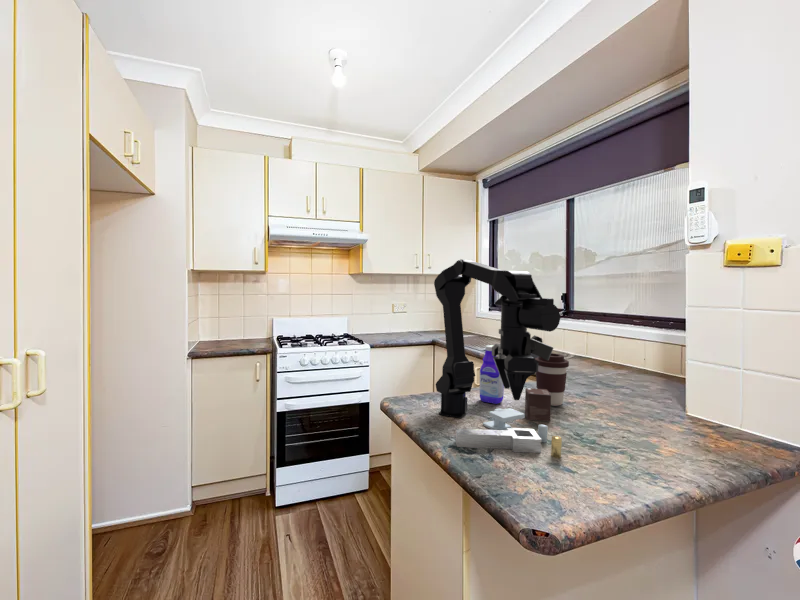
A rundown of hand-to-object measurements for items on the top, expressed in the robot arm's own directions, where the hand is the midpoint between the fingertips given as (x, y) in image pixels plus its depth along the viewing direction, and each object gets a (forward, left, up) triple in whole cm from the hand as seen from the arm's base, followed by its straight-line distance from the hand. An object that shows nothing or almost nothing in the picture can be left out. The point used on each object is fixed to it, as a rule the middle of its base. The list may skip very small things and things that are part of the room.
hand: (511, 393), depth 88 cm
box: (+5, +21, -12) cm, 25 cm away
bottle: (-9, +30, -12) cm, 33 cm away
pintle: (+10, -3, -11) cm, 15 cm away
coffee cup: (+8, +37, -12) cm, 40 cm away
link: (-3, -3, -11) cm, 12 cm away
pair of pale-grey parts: (0, +7, -11) cm, 14 cm away
